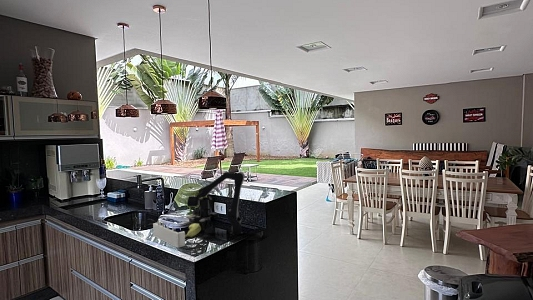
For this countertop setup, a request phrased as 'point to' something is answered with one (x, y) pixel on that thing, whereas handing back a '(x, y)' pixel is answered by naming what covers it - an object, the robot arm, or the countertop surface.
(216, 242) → the countertop surface
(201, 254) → the countertop surface
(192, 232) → the banana
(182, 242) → the rack
